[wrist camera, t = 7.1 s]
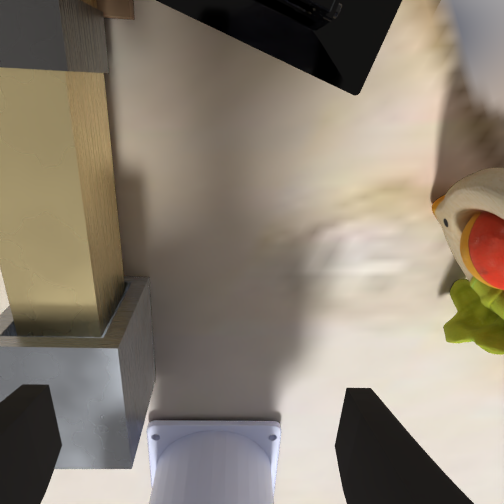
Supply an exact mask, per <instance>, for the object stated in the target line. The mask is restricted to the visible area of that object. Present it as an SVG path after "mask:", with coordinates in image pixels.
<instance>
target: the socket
mask: <svg viewBox="0 0 504 504" xmlns="http://www.w3.org/2000/svg"><path fill="white" fill-rule="evenodd" d="M97 9H99V10H100V11H102V12H103V14H104V18H117V19H132V20H134V7H133V0H97Z"/></svg>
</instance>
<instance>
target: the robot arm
mask: <svg viewBox="0 0 504 504" xmlns="http://www.w3.org/2000/svg"><path fill="white" fill-rule="evenodd" d="M155 434H158V435H155ZM147 438H148V449H149V461H150V472H151V484H152V491H151V496H150V501H149V504H274V490H275V482H276V473H277V465H278V456H279V448H280V439H281V425H280V423H278V422H276V421H197V420H154V421H151V422H150V423H149V424H148V428H147ZM61 447H62V442H61V437H60V433H59V428H58V424H57V419H56V414H55V410H54V405H53V401H52V396H51V392H50V387H49V385H42V384H22V385H21V386H20V387H19V388H17V389H16V390H15V391H14V392H12V393H11V394H10V395H9V396H7V397H6V398H5V399H4V400H3V401H1V402H0V504H40V503H41V501H42V499H43V497H44V495H45V492H46V490H47V487H48V485H49V482H50V479H51V476H52V474H53V471H54V468H55V465H56V462H57V459H58V456H59V453H60V450H61ZM335 449H336V455H337V461H338V466H339V472H340V477H341V482H342V487H343V491H344V495H345V498H346V502H347V504H474V503H473V502H472V501H471V500H470V499H469V498H468V497H467V496H466V495H465V494H464V493H463V492H462V491H461V490H460V489H459V488H458V487H457V486H456V485H455V484H454V483H453V481H452V480H451V479H450V478H449V477H448V476H447V475H446V474H445V473H444V472H443V471H442V470H441V468H440V467H439V466H438V465H437V464H436V463H435V462H434V461H433V460H432V459H431V457H430V456H429V455H428V454H427V453H426V452H425V451H424V450H423V449H422V447H421V446H420V445H419V444H418V443H417V442H416V441H415V439H414V438H413V437H412V436H411V435H410V434H409V433H408V431H407V430H406V429H405V428H404V427H403V426H402V424H401V423H400V422H399V421H398V420H397V418H396V417H395V416H394V415H393V414H392V413H391V411H390V410H389V409H388V408H387V407H386V405H385V404H384V403H383V402H382V401H381V399H380V398H379V397H378V396H377V395H376V394H375V392H374V391H373V390H372V389H371V388H346V393H345V398H344V403H343V408H342V413H341V418H340V423H339V428H338V433H337V438H336V443H335Z"/></svg>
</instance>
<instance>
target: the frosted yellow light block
mask: <svg viewBox="0 0 504 504" xmlns="http://www.w3.org/2000/svg"><path fill="white" fill-rule="evenodd" d="M104 73H109V68H108V57H107V46H106V36H105V25H104V14H103V12H102V11H100V10H99V9H97V0H0V268H1V272H2V276H3V280H4V284H5V288H6V292H7V296H8V300H9V304H10V308H11V312H12V316H13V320H14V324H15V328H16V332H17V336H61V337H101V336H102V334H103V333H104V331H105V329H106V327H107V325H108V323H109V321H110V319H111V317H112V315H113V313H114V311H115V310H116V308H117V306H118V304H119V302H120V300H121V298H122V296H123V294H124V292H125V284H124V274H123V263H122V253H121V243H120V233H119V223H118V213H117V202H116V192H115V182H114V172H113V162H112V152H111V142H110V131H109V121H108V111H107V101H106V91H105V81H104Z"/></svg>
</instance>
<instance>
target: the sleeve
mask: <svg viewBox="0 0 504 504" xmlns="http://www.w3.org/2000/svg"><path fill="white" fill-rule="evenodd" d="M124 284H125V292H124V294H123V296H122V298H121V300H120V302H119V304H118V306H117V308H116V310H115V311H114V313H113V315H112V317H111V319H110V321H109V323H108V325H107V327H106V329H105V331H104V333H103V334H102V336H101V337H61V336H17V332H16V328H15V324H14V320H13V316H12V312H11V308H10V306H9V307H8V308H7V309H6V310H5V311H4V312H3V313H2V314H1V315H0V402H1V401H3V400H4V399H5V398H6V397H7V396H9V395H10V394H11V393H12V392H14V391H15V390H16V389H17V388H19V387H20V386H21V385H22V384H42V385H49V387H50V392H51V396H52V401H53V405H54V410H55V414H56V419H57V424H58V428H59V433H60V437H61V442H62V447H61V450H60V453H59V456H58V459H57V462H56V465H55V468H54V469H132V466H133V462H134V458H135V454H136V451H137V447H138V443H139V440H140V436H141V432H142V428H143V425H144V421H145V417H146V413H147V410H148V406H149V402H150V398H151V395H152V391H153V387H154V383H155V380H156V373H155V358H154V343H153V328H152V314H151V299H150V284H149V277H130V276H124Z"/></svg>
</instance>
